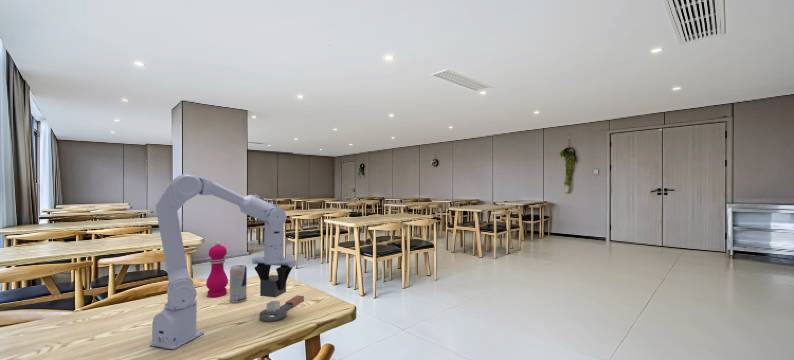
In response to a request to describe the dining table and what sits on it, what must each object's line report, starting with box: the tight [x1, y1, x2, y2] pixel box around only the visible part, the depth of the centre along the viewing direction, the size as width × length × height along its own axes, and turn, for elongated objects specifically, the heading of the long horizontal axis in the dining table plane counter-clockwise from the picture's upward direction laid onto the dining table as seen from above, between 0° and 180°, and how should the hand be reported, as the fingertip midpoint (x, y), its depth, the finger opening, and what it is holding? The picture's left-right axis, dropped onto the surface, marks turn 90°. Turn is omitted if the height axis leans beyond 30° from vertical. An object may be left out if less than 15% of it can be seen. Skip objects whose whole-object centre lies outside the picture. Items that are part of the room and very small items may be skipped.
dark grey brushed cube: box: [259, 274, 287, 298], centre depth 102 cm, size 5×5×5 cm
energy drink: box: [229, 264, 248, 304], centre depth 116 cm, size 5×5×12 cm
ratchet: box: [259, 295, 305, 324], centre depth 108 cm, size 20×8×4 cm, turn 165°
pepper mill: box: [205, 240, 229, 298], centre depth 122 cm, size 7×7×20 cm
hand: (273, 288), depth 102 cm, fingers closed on dark grey brushed cube, 5 cm apart
